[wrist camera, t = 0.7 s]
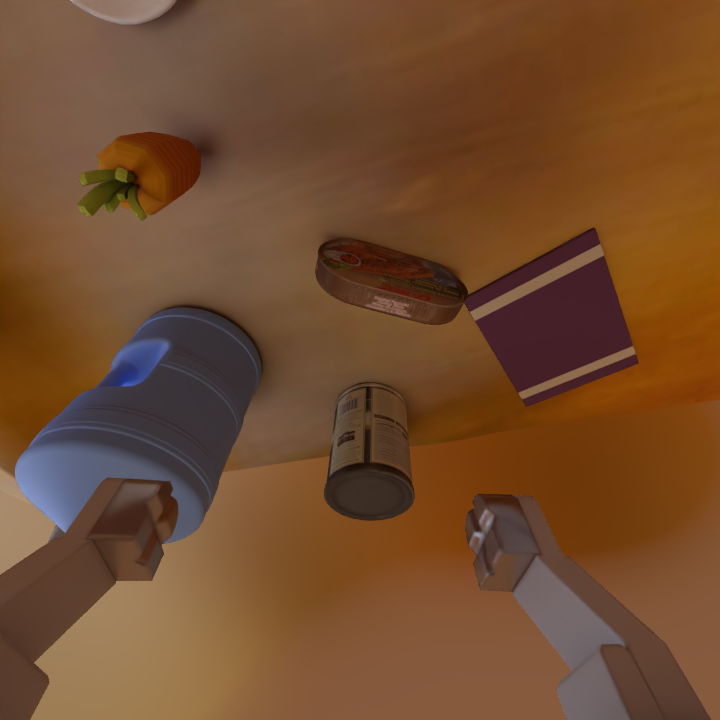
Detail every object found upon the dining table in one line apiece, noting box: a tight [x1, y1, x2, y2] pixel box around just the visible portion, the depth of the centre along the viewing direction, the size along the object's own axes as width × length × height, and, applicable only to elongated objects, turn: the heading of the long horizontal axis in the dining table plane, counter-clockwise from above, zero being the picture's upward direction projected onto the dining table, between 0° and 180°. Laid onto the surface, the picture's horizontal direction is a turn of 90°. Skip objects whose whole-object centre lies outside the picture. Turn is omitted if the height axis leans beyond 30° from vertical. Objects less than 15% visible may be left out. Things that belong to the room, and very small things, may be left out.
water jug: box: [15, 307, 262, 544], centre depth 37 cm, size 16×16×28 cm
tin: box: [315, 239, 468, 325], centre depth 36 cm, size 15×3×8 cm, turn 74°
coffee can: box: [324, 383, 415, 521], centre depth 47 cm, size 10×10×14 cm
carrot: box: [77, 132, 201, 220], centre depth 27 cm, size 5×5×15 cm
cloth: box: [465, 228, 638, 407], centre depth 43 cm, size 14×20×1 cm
